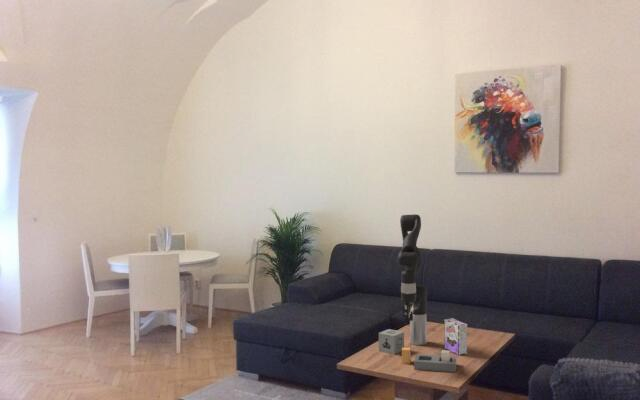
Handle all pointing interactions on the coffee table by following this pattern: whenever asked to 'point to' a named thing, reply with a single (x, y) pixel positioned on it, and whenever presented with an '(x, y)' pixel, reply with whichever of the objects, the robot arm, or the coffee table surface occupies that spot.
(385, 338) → the icon cube
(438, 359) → the grey slotted holder
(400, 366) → the coffee table surface
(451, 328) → the candy box
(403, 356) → the orange plug
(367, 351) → the coffee table surface
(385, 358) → the coffee table surface
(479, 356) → the coffee table surface
